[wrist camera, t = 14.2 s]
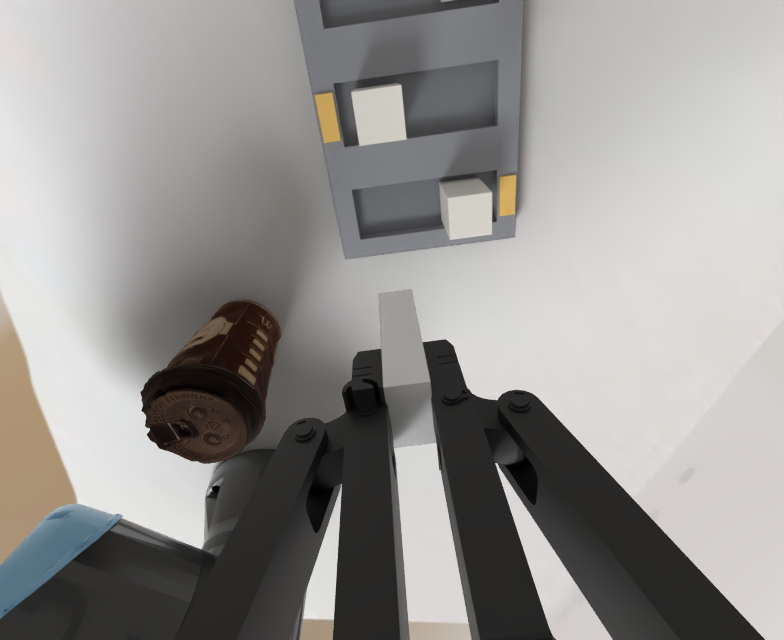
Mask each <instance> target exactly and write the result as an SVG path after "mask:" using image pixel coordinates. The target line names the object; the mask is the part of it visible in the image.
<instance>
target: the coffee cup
mask: <svg viewBox="0 0 784 640" xmlns="http://www.w3.org/2000/svg"><path fill="white" fill-rule="evenodd" d="M280 337H281V331H280V327H279V325H278V323H277V321H276V320H275V318H274V317H273V315H272V314H271V313H270V312H269V311H268V310H267V309H265V308H264V307H262V306H261V305H259V304H256V303H254V302H252V301H233V302H229V303H227V304H225V305H224V306H222V307H221V308H220V309H219V310H218V311H217V312H216V313H215V315H214V316H213V317H212V318H211V320H210V322H208V323H207V324H205V325H204V326H203V327H202V328H201V329H200V330H199V331H198V332H197V333H196V334H195V335H194V336H193V337H192V339H191V340H190V341H189V342H188V343H187V344H186V345H185V346H184V347H183V348H182V349H181V351H180V352H179V353H178V354H177V355H176V356H175V357H174V358H173V360H172V361H171V362H170V363H169V365H168V366H167V368H166V369H163V370H162V371H158V372H156V373H155V374H154V375H153V376H152V377H151V378H149V380H148V382H147V383H145V386H144V389H143V390H142V391H141V395H142V402H143V408H142V410H141V411H143V412H144V413H145V415H146V424H145V426H146V427H147V428H150V431H149V433H148V434H147V436H148V437H149V439H150V440H151V441H152V442H155V443H156V444H157V446H158V447H159V448H160V449H163V450H166V451H169V452H172V453H175V454H177V455H180V456H181V457H183V458H186V459H188V460H190V461H198V462H200V463H204V464H207V463H208V464H209V463H216V462H219V461H222V460H226V459H228V458H231V457H233V456H235V455H237V454H238V453H239V452H241V451H242V449H243V448H244V447H245V446H246V445H248V444H249V443H251V442H252V441H254V439H255V438H256V437H257V435H258V434H259V433H260V431H261V430H262V428H263V425H264V421H265V419H266V409H265V401H266V397H267V392H268V385H269V380H270V376H271V370H272V367H273V365H274V357H275V353H276V348H277V344H278V341H279V339H280Z"/></svg>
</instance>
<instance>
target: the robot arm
mask: <svg viewBox="0 0 784 640" xmlns="http://www.w3.org/2000/svg"><path fill="white" fill-rule="evenodd" d="M379 313H380V332H381V349H376V350H369V351H361V352H358V353H357V355H356V356H355V358H354V359H353V367H352V369H353V370H352V380H351V381H349V382H348V383H347V384H346V385H345V386H344V388H343V390H342V395H343V399H344V403H345V407H346V412H345V413H344V414H343V415H342V416H341V417H339V418H337V419H335V420H333V421H331V422H328V423H325V424H324V423H323V422H322V421H320V420H319V419H315V418H304V419H301V420H299V421H296V422H295V423H293V424H292V425H291V426H289V428H288V429H287V430H286V432H285V433H284V435H283V437H282V439H281V441H280V443H279V445H278V446H277V448H276V450H275V451H274V450H258V451H250V452H245V453H241V454H238V455H236V456H233V457H231V458H229V459H228V460H226V461H224V462H223V463H222V464H221V465H220V466H219V467H218V468H217V469H216V470H215V472H214V474H213V476H212V479H211V481H210V484H209V486H208V489H207V492H206V497H205V527H204V544H203V547H202V550H201V549H199V548H196V547H193V546H191V545H188V544H185V543H183V542H180V541H178V540H175V539H173V538H170V537H168V536H165V535H163V534H160V533H158V532H155V531H153V530H150V529H148V528H145V527H143V526H140V525H138V524H135V523H133V522H130V521H127V520H125V519H122V517H123V516H122V515H120V514H116V515H112V514H109V513H106V512H103V511H100V510H96V509H93V508H90V507H87V506H84V505H80V504H69V505H65V506H62V507H59V508H57V509H55V510H54V511H52V512H51V513H49V514H48V516H46V517H45V518H44V519H43V520H42V521H41V522H40V523H39V524H38V525H37V526H36V528H35V529H34V530H33V531H32V532H31V533H30V534H29V535H28V536H27V537H26V538H25V539H24V540H23V541H22V543H21V544H20V545H19V546H18V547H17V548H16V549H15V550H14V551H13V552H12V553H11V554H10V555H9V557H8V558H7V559H6V560H5V561H4V562H3V563H2V564H1V565H0V640H300V638H301V630H302V621H303V614H304V606H305V598H306V590H307V586H308V583H309V580H310V577H311V574H312V571H313V568H314V565H315V562H316V559H317V556H318V553H319V550H320V547H321V544H322V541H323V538H324V535H325V532H326V529H327V526H328V523H329V520H330V517H331V514H332V511H333V508H334V505H335V502H336V499H337V496H338V493H339V490H340V485H341V484H342V495H341V512H340V529H339V546H338V563H337V579H336V596H335V613H334V631H333V640H410V639H409V627H408V613H407V600H406V587H405V574H404V561H403V548H402V535H401V522H400V509H399V496H398V483H397V470H396V459H395V453H394V448H398V447H406V446H413V445H421V444H429V443H437V451H438V461H439V470H441V475H442V480H443V485H444V491H445V496H446V502H447V507H448V513H449V518H450V524H451V529H452V535H453V540H454V545H455V551H456V556H457V562H458V567H459V573H460V578H461V584H462V589H463V595H464V600H465V605H466V611H467V616H468V622H469V626H470V633H471V637H472V640H556V639H555V638H554V637H553V635H552V634H551V631H550V629H549V626H548V623H547V620H546V617H545V614H544V611H543V608H542V605H541V602H540V599H539V596H538V593H537V590H536V587H535V584H534V581H533V578H532V575H531V571H530V568H529V565H528V562H527V559H526V556H525V553H524V550H523V547H522V544H521V541H520V538H519V535H518V532H517V529H516V526H515V523H514V520H513V517H512V514H511V510H510V507H509V504H508V501H507V498H506V495H505V492H504V489H503V486H502V483H501V480H500V477H499V474H498V471H497V468H496V465H495V463H498V465H499V468H500V469H501V471H502V472H503V474H504V475H505V477H506V478H507V480H508V481H509V483H510V484H511V486H512V487H513V489H514V490H515V492H516V493H517V495H518V496H519V498H520V499H521V501H522V502H523V504H524V505H525V507H526V508H527V510H528V511H529V513H530V514H531V516H532V518H533V519H534V521H535V522H536V524H537V525H538V527H539V528H540V530H541V531H542V533H543V534H544V536H545V537H546V539H547V540H548V542H549V543H550V545H551V546H552V548H553V549H554V551H555V552H556V554H557V555H558V557H559V558H560V560H561V561H562V563H563V564H564V566H565V568H566V569H567V571H568V572H569V574H570V575H571V577H572V578H573V580H574V581H575V583H576V584H577V586H578V587H579V589H580V590H581V592H582V593H583V595H584V596H585V598H586V599H587V601H588V602H589V604H590V605H591V607H592V608H593V610H594V611H595V613H596V614H597V616H598V618H599V619H600V620H601V622H602V624H603V625H604V627H605V628H606V630H607V631H608V632H609V634H610V636H611V637H612V639H613V640H765V639H764V638H763V637H762V636H761V635H760V634H759V633H758V632H757V631H756V630H755V629H754V628H753V626H751V624H750V623H749V622H748V621H747V620H746V619H745V618H744V617H743V616H742V615H741V614H740V613H739V612H738V610H737V609H736V608H735V607H734V606H733V605H732V604H731V603H730V602H729V601H728V600H727V599H726V598H725V597H724V596H723V594H721V592H720V591H719V590H718V589H717V588H716V587H715V586H714V585H713V584H712V583H711V582H710V581H709V580H708V579H707V577H706V576H705V575H704V574H703V573H702V572H701V571H700V570H699V569H698V568H697V567H696V566H695V565H694V564H693V563H692V562H691V560H690V559H689V558H688V557H687V556H686V555H685V554H684V553H683V552H682V551H681V550H680V549H679V548H678V547H677V545H675V543H674V542H673V541H672V540H671V539H670V538H669V537H668V536H667V535H666V534H665V533H664V532H663V531H662V529H661V528H660V527H659V526H658V525H657V524H656V523H655V522H654V521H653V520H652V519H651V518H650V517H649V516H648V515H647V513H646V512H644V511H643V509H642V508H641V507H640V506H639V505H638V504H637V503H636V502H635V501H634V500H633V499H632V498H631V496H630V495H629V494H628V493H627V492H626V491H625V490H624V489H623V488H622V487H621V486H620V485H619V484H618V483H617V482H616V480H615V479H614V478H613V477H612V476H611V475H610V474H609V473H608V472H607V471H606V470H605V469H604V468H603V467H602V466H601V465H600V463H599V462H598V461H597V460H596V459H595V458H594V457H593V456H592V455H591V454H590V453H589V452H588V451H587V450H586V449H585V447H584V446H583V445H582V444H581V443H580V442H579V441H578V440H577V439H576V438H575V437H574V436H573V435H572V434H571V433H570V431H569V430H568V429H567V428H566V427H565V426H564V425H563V424H562V423H561V422H560V421H559V420H558V419H557V418H556V417H555V416H554V414H553V413H552V412H551V411H550V410H549V409H548V408H547V407H546V406H545V405H544V404H543V403H542V402H541V401H540V400H539V398H537V397H536V396H535V395H533V394H532V393H529V392H526V391H522V390H513V391H508V392H506V393H504V394H502V395H501V396H500V397H499V399H498V400H488V399H483V398H480V397H477V396H475V395H474V394H472V393H471V392H470V390H469V389H468V388H467V387H466V384H465V381H464V378H463V374H462V371H461V368H460V365H459V363H458V359H457V356H456V353H455V350H454V346H453V345H452V344H451V343H449V342H448V341H447V340H446V339H445V340H438V341H430V342H422V338H421V333H420V328H419V324H418V319H417V314H416V309H415V304H414V299H413V295H412V290H411V289H410V290H403V291H395V292H388V293H381V294H379Z"/></svg>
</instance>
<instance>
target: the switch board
mask: <svg viewBox="0 0 784 640" xmlns="http://www.w3.org/2000/svg"><path fill="white" fill-rule="evenodd" d="M294 3H295V8H296V13H297V18H298V23H299V28H300V33H301V38H302V43H303V48H304V53H305V59H306V64H307V69H308V74H309V79H310V84H311V89H312V94H313V99H314V104H315V109H316V114H317V119H318V124H319V129H320V134H321V139H322V144H323V149H324V154H325V159H326V165H327V170H328V175H329V180H330V185H331V190H332V195H333V200H334V205H335V210H336V215H337V220H338V225H339V230H340V235H341V240H342V245H343V250H344V255H345V259H352V258H360V257H367V256H375V255H383V254H390V253H398V252H406V251H414V250H421V249H429V248H437V247H445V246H452V245H460V244H468V243H475V242H483V241H491V240H499V239H506V238H514V237H515V228H516V199H517V170H518V142H519V113H520V84H521V55H522V26H523V0H455V1H449V2H442V3H441V0H294ZM392 83H399V84H401V87H402V97H403V107H404V118H405V128H406V138H407V140H399V141H392V142H385V143H378V144H371V145H364V146H359V140H358V134H357V127H356V121H355V114H354V108H353V101H352V95H351V92H352V91H353V90H354V89H358V88H364V87H371V86H378V85H385V84H392ZM475 177H478V178H479V179H480V180H481V181H482V182H483V183H484V184H485V185H486V186H487V187H488V188H489V189H490V190H491V191H492V235H484V236H477V237H469V238H461V239H454V240H450V239H449V237H448V234H447V232H446V230H445V227H444V225H443V223H442V220H441V205H440V189H439V182H445V181H453V180H460V179H467V178H475Z"/></svg>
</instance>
